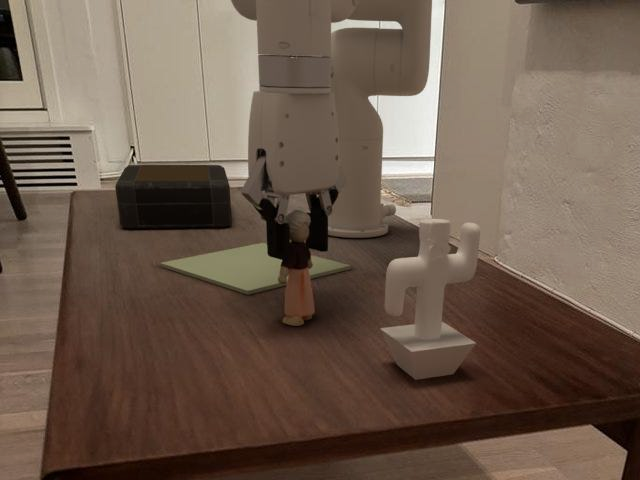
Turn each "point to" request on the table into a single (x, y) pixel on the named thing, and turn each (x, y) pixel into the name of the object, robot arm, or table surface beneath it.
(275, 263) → the mat
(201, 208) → the cash box
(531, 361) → the table surface
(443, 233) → the figurine
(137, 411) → the table surface
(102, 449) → the table surface
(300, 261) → the grandmother figurine
